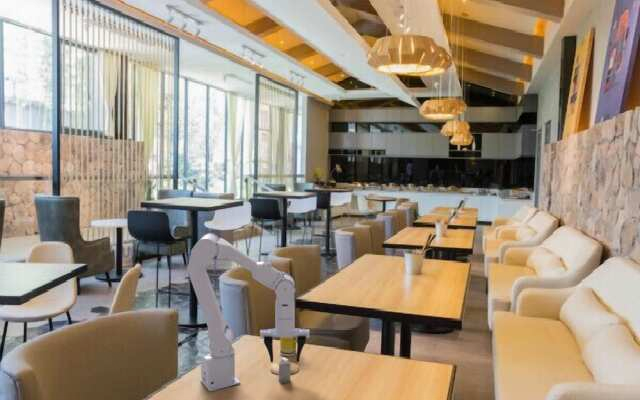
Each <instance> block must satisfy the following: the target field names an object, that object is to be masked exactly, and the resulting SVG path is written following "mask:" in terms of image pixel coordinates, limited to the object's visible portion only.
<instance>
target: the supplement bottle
mask: <svg viewBox="0 0 640 400" xmlns="http://www.w3.org/2000/svg"><path fill="white" fill-rule="evenodd" d="M279 340H280V342H279V344H280V345H279V350H280V351H279V353H280V355H281V356H284V357H291V356H294V355H296V354H297V337H279Z"/></svg>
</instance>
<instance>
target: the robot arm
mask: <svg viewBox="0 0 640 400" xmlns="http://www.w3.org/2000/svg"><path fill="white" fill-rule="evenodd" d="M215 257H216V260H226V259H227V260H230V261H231V262H233V263H234V264H236V265H239V266H240V267H242V268H243V269H246V270H247V271H249V272H250V273H251V274H252V275H251V276H252V279H253V280H256V281H257V282H259V283H261V285H263V286H265V287H267V288H269V289H270V290H274V294H275V295H276V296H275V299H276V300H275V302H274V305H275V306H274V307H275V308H274V311H275V312H274V313H275V316H274V317H275V319H274V320H275V321H274V323H275V324H274V328H268V329H260V331H259V337H260V338H259V339H263V344H264V346H265V347H266V350H267V352H268V355H269V360H270V363H274V351H273V350H274V347H273V345H274V343H273V341H274V338H276V339H277V338H279V339H280V337H296V363H298V362H300V357H301V354H302V351H303V348H304V346H305V344H306V341H307V339H310V329H309V328H308V329H305V328H298V327H295V320H296V319H295V318H296V317H295V315H296V313H295V310H296V309H295V308H296V307H295V306H296V305H295V304H296V303H295V293H296V288H295V287H296V285H295V280H294V278H293V277H292V276H291V275H290V274H288V273H286V272H284V271H280V270H278V269H276V267H274V266H272V263H271V262H270V261H267V262H266V261H257V260H255V259H253V258H252V257H251V256H249V255H248V254H246V253H245V252H244V251H242V250H240V249H239V248H238V247H236V246H234V245H233V244H232V243H230V242H228V241H227V240H226V239H225V238H222V237H219V236H218V235H216V234H214V233H211V232H210V233H206V234H204V235H202V236H201V237H200V239H199V240H198V241H197V242H196V243H195V245H194V246H193V248H192V249H191V251H190V256H189V260H188V265H187V274H188V277H189V280H190V282H191V284H192V287H193V290H194V293H195V296H196V298H197V300H198V304H199V306H200V309H201V312H202V314H203V315H202V316H203V317H204V321H205V322H206V325H207V334H208V339H209V346H208V349H209V353H208V354H206V355H205V356H202V357H201V361H200V382H201V384H203V386H205V388H206V389H207V390H208V391H209V392H213V391H216V390H220V389H225V388H228V387H231V386H232V387H233V386H236V385H239V384H241V381H240V380H239V379H238V378H237V377H236V376H235V375H236V372H235V371H236V370H235V367H236V365H235V364H236V363H235V361H236V360H235V358H236V357H235V355H236V352H235V348H234V347H233V342H234V341H235V340H234V339H235V332H234V330H233V328H231V327H230V326H229V325H228V324H229V323H228V322H227V320H226V319H225V317H224V316H223V314H222V310H221V308H220V304H219V302H218V300H217V296H216V294H215V290H214V288H213V285H212V282H211V279H210V277H209V274H208V272H207V267H208V266H209V263H210V262H211V261H212V260H213V259H214V258H215Z"/></svg>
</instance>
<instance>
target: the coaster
mask: <svg viewBox="0 0 640 400" xmlns="http://www.w3.org/2000/svg"><path fill="white" fill-rule="evenodd" d="M279 362H280V361H279ZM279 362H275V363H273V364H271V365H270V369H269V370H270V372H271V373H272V374H275V375H278V376H279ZM289 362H290V376H292V375H294V374H297V373H298V372H299V370H300V366H299V365H298V364H297V363H295V362H292V361H289Z"/></svg>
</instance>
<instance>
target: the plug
mask: <svg viewBox="0 0 640 400" xmlns="http://www.w3.org/2000/svg"><path fill="white" fill-rule="evenodd" d="M290 362H291V361H289V359H288V358H286V356H284V357H281V358H280V360H279V375H278V382H279V383H280V384H288V383H290V382H291V375H290Z"/></svg>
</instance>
